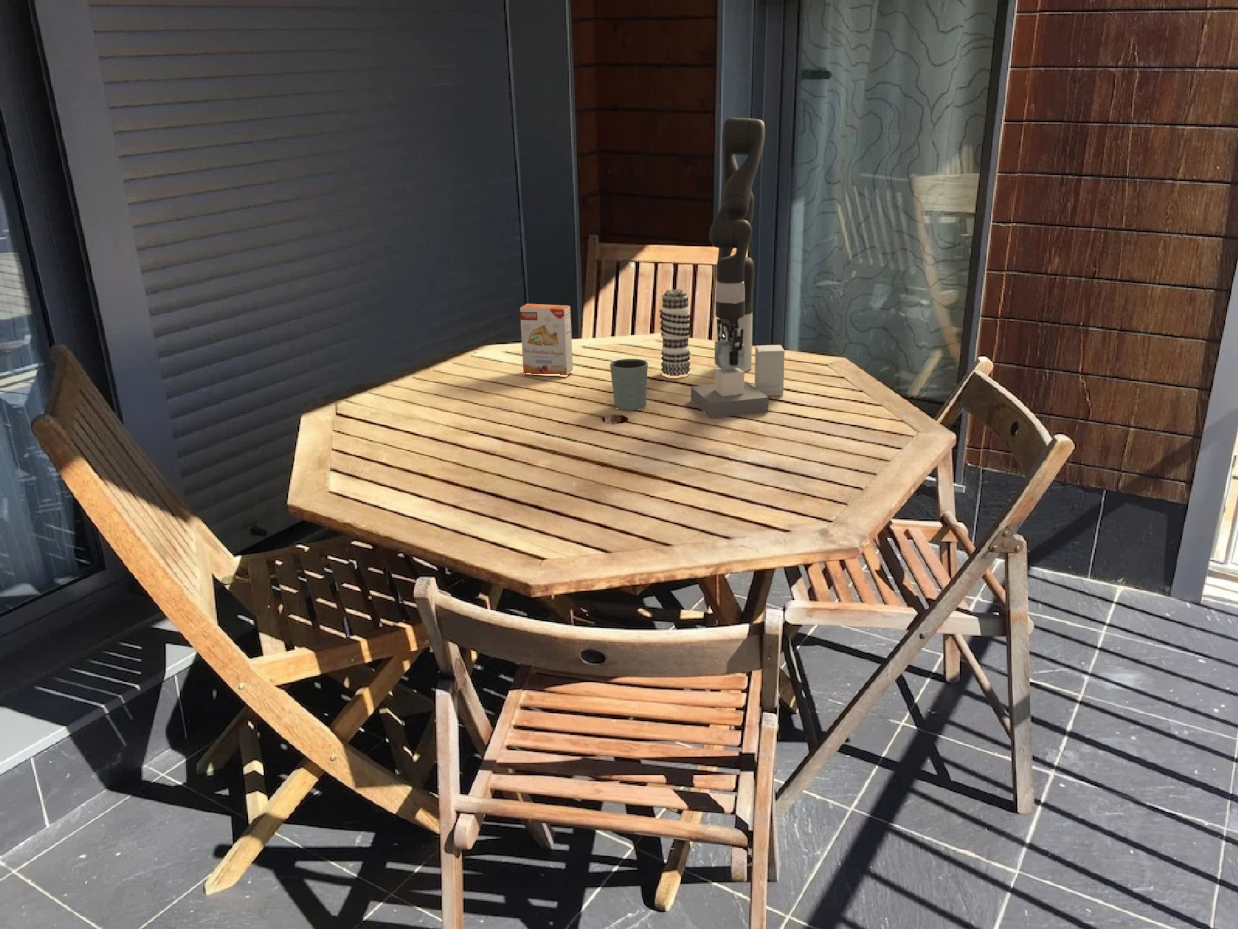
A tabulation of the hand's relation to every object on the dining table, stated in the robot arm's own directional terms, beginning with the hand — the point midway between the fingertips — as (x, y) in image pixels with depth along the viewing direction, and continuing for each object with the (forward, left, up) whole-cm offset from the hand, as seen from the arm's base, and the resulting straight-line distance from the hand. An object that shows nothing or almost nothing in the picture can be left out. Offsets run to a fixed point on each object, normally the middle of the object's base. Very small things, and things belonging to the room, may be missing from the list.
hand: (729, 361), depth 273 cm
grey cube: (0, 0, -1) cm, 1 cm away
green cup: (-9, -25, -12) cm, 29 cm away
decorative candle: (-35, -4, -12) cm, 37 cm away
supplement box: (-9, +15, -12) cm, 21 cm away
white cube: (0, 0, -8) cm, 8 cm away
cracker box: (-48, -40, -12) cm, 64 cm away
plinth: (0, 0, -12) cm, 12 cm away
